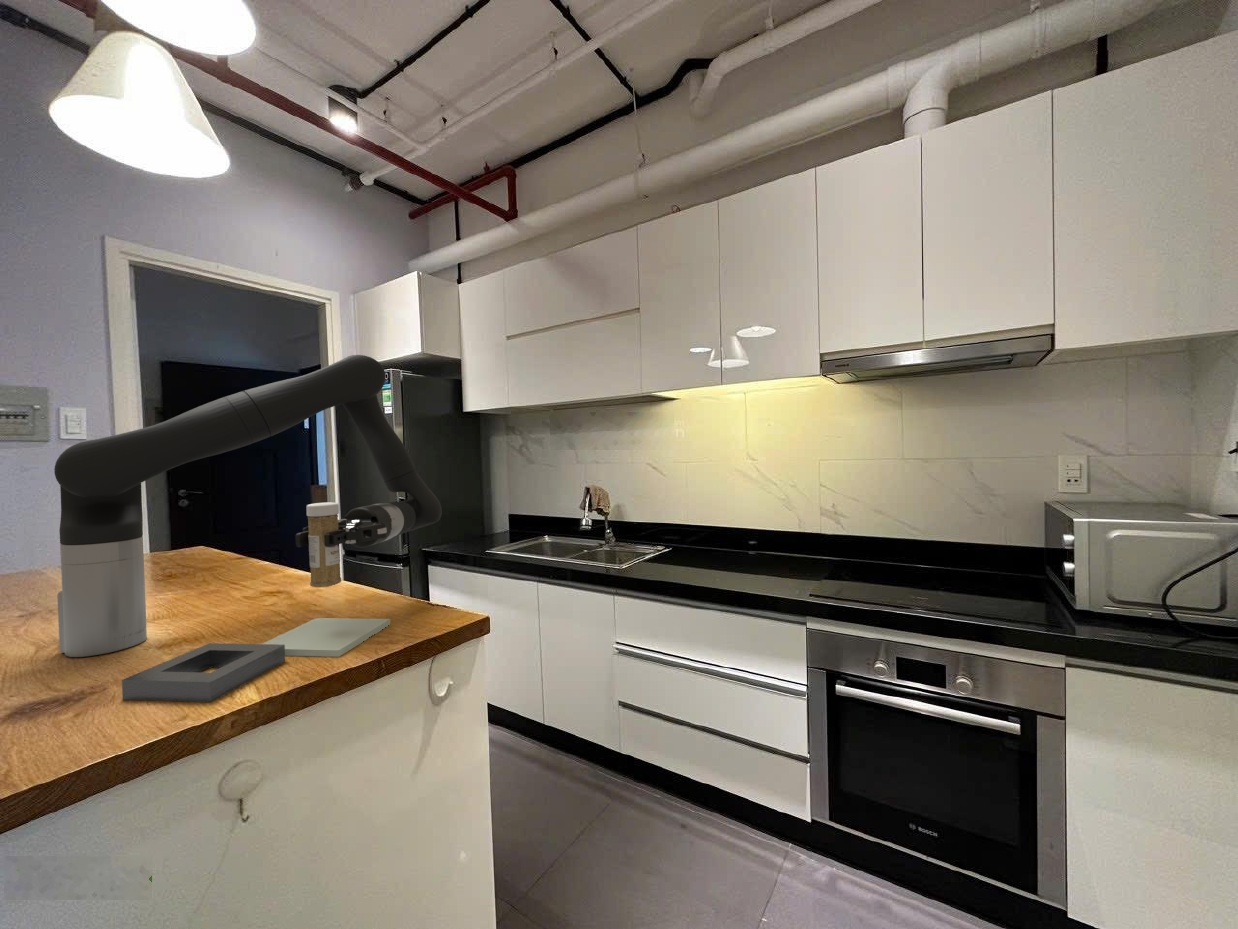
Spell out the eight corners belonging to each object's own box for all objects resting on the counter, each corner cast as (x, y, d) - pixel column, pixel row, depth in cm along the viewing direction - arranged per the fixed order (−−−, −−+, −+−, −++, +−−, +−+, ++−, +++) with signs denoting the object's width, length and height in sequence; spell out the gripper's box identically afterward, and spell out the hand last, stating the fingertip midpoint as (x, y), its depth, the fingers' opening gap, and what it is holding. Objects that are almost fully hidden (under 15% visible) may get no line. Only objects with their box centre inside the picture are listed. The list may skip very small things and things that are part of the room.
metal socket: (122, 699, 62) (121, 679, 62) (210, 659, 74) (209, 643, 74) (210, 702, 61) (210, 682, 61) (285, 661, 73) (284, 644, 73)
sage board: (252, 655, 75) (252, 648, 75) (316, 623, 89) (316, 618, 89) (339, 656, 74) (338, 650, 74) (390, 624, 88) (390, 619, 88)
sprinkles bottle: (342, 585, 81) (339, 503, 81) (309, 589, 79) (306, 505, 78) (340, 579, 85) (337, 501, 84) (309, 583, 82) (305, 503, 82)
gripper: (339, 504, 96) (269, 517, 79) (409, 504, 95) (353, 516, 78) (340, 543, 96) (271, 563, 79) (410, 543, 95) (355, 564, 78)
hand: (312, 540), depth 79 cm, fingers closed on sprinkles bottle, 4 cm apart
